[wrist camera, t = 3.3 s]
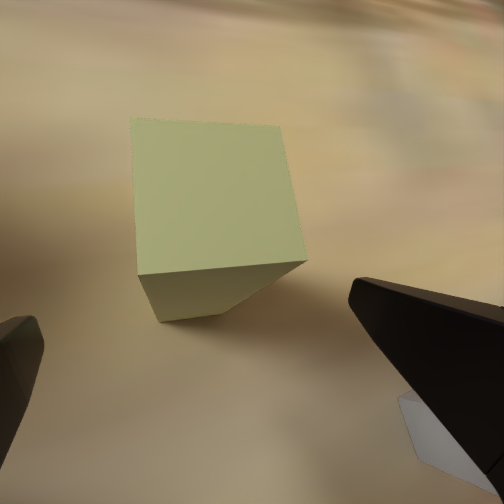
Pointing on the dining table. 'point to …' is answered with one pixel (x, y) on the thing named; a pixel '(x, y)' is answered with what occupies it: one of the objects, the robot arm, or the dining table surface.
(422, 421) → the grey pillar
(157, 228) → the olive pillar
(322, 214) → the dining table surface
